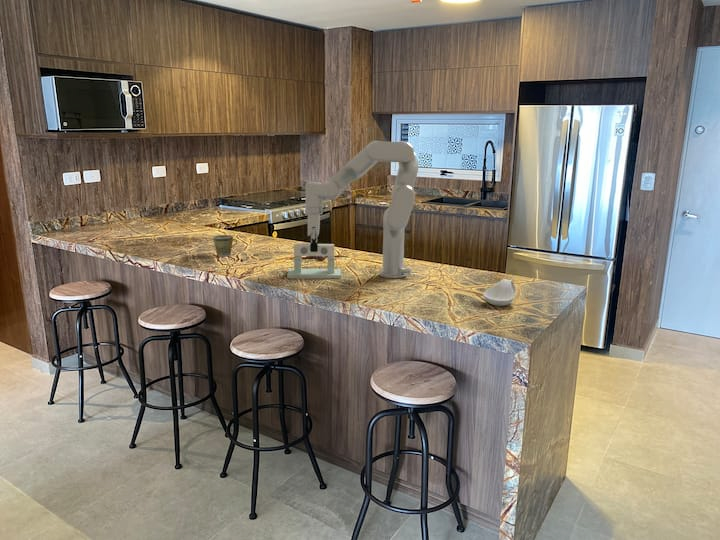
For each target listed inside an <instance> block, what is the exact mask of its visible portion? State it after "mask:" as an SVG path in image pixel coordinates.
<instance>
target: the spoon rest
mask: <svg viewBox="0 0 720 540" xmlns="http://www.w3.org/2000/svg"><path fill="white" fill-rule="evenodd" d="M515 293H516V289H515V283H514V281H513V280H512V279H506V278H503V279H501V280H500V281H499V282H497V283H496V284H495V285H493V286H491V287H489V288H488V289H487V290H485V291H483V293H482V294H483V298H484V300H485V301H486V302H487V303H489V304H491V305H493V306H496V307H504V306H507V305H509V304H511V303H512V302H513V301H514V299H515V296H516V295H515Z"/></svg>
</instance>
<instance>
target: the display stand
mask: <svg viewBox="0 0 720 540" xmlns="http://www.w3.org/2000/svg"><path fill="white" fill-rule="evenodd" d="M334 256H335V255H334ZM334 256H328V258H327V268H303V267H302V265H303V262H302V260H303V259H302V257H303V256H293V258H294V260H293V264H294V265H293V267H294V268H288V272H287V274H286V278H287V279H332V278H341V279H342V269H341V268H335V258H334Z"/></svg>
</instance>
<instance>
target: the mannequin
mask: <svg viewBox="0 0 720 540" xmlns="http://www.w3.org/2000/svg"><path fill="white" fill-rule="evenodd" d="M306 244H309V243H308V242H307V243H306ZM334 257H335V258H348V257H349V256H348V255H339V254H338V255H337V254H336V255H334ZM291 259H294V257H293V258H292V257H291V258H290V260H291ZM312 259H318V260H319V261H324V260H325V259H328V256H302V260H312Z"/></svg>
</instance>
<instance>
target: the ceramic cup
mask: <svg viewBox="0 0 720 540" xmlns="http://www.w3.org/2000/svg"><path fill="white" fill-rule="evenodd" d="M212 239H213V244H214V246H215V247H214V248H215V251H216V256H217V257H218V258H225V257H226V256H228V257H231V254H232V249H233V248H234V246H236V245H237V244H238V240H237V238H234V236H233V235H229V234H217V235H214V236H213V237H212ZM233 241H235V243H234V244H233Z"/></svg>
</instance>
